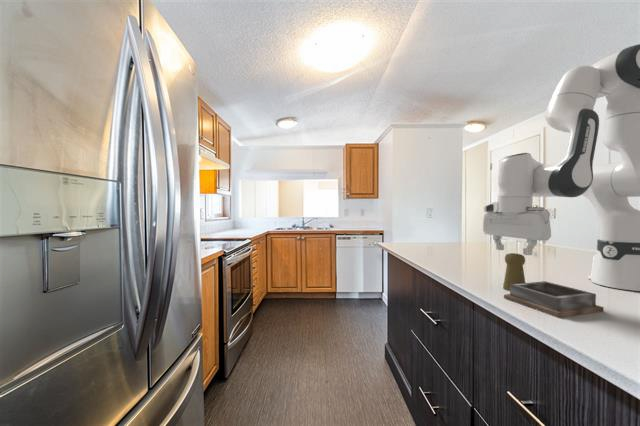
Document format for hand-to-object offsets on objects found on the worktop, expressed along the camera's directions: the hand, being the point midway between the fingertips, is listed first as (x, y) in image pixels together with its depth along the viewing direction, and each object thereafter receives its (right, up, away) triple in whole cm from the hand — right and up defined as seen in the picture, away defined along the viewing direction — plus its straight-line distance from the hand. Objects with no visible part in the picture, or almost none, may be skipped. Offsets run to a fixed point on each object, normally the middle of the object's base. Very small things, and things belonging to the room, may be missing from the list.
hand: (513, 252), depth 88 cm
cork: (+1, -12, 0) cm, 12 cm away
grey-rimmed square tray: (+1, -12, -13) cm, 18 cm away
